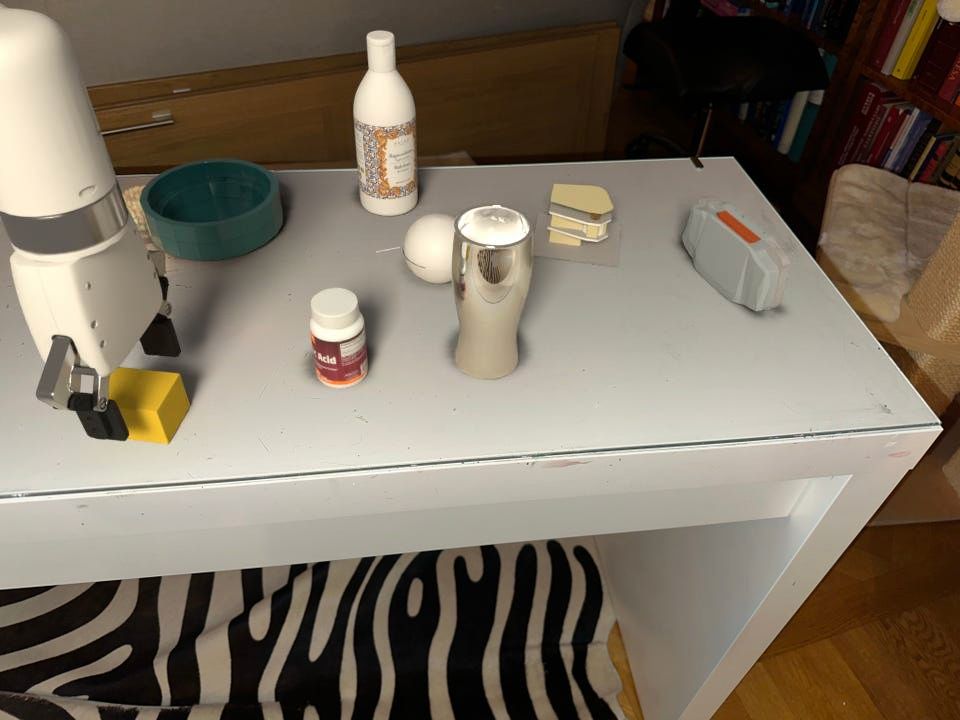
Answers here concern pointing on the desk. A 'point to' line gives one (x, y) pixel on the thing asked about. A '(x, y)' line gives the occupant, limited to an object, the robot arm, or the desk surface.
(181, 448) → the desk surface
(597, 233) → the stacked layers on plate
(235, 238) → the bowl
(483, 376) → the beer glass
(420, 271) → the lollipop
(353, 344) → the pill bottle
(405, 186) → the bath foam
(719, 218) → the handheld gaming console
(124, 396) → the sponge
